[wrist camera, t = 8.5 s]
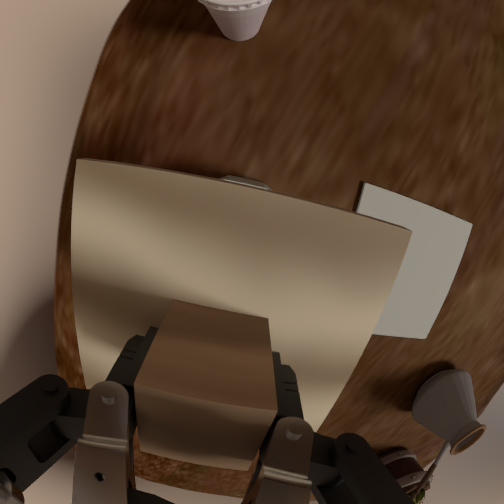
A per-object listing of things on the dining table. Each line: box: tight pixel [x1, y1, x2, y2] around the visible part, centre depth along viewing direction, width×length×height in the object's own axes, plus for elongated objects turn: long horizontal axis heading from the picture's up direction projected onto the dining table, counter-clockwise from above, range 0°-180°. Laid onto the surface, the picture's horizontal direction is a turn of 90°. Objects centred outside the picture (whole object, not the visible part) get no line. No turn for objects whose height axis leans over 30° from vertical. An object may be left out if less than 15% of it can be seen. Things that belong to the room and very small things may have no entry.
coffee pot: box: [409, 369, 486, 501], centre depth 30 cm, size 21×12×15 cm, turn 161°
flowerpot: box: [378, 448, 433, 504], centre depth 34 cm, size 14×15×20 cm
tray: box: [356, 182, 473, 339], centre depth 29 cm, size 16×16×1 cm
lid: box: [71, 158, 413, 471], centre depth 10 cm, size 14×14×6 cm
